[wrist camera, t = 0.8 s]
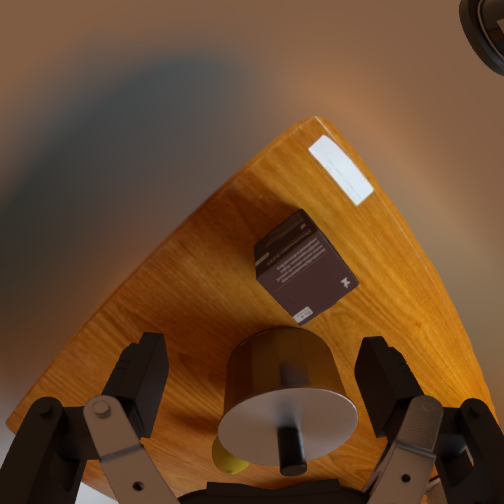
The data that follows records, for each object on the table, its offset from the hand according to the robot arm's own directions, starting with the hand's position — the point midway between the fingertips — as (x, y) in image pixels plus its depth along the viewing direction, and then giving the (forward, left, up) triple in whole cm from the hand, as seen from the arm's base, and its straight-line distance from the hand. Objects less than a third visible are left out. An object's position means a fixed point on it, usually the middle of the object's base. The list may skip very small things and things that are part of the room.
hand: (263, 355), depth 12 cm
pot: (+18, +4, -18) cm, 26 cm away
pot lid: (+18, +4, -9) cm, 20 cm away
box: (+2, +4, -19) cm, 19 cm away
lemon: (+31, -2, -19) cm, 36 cm away
